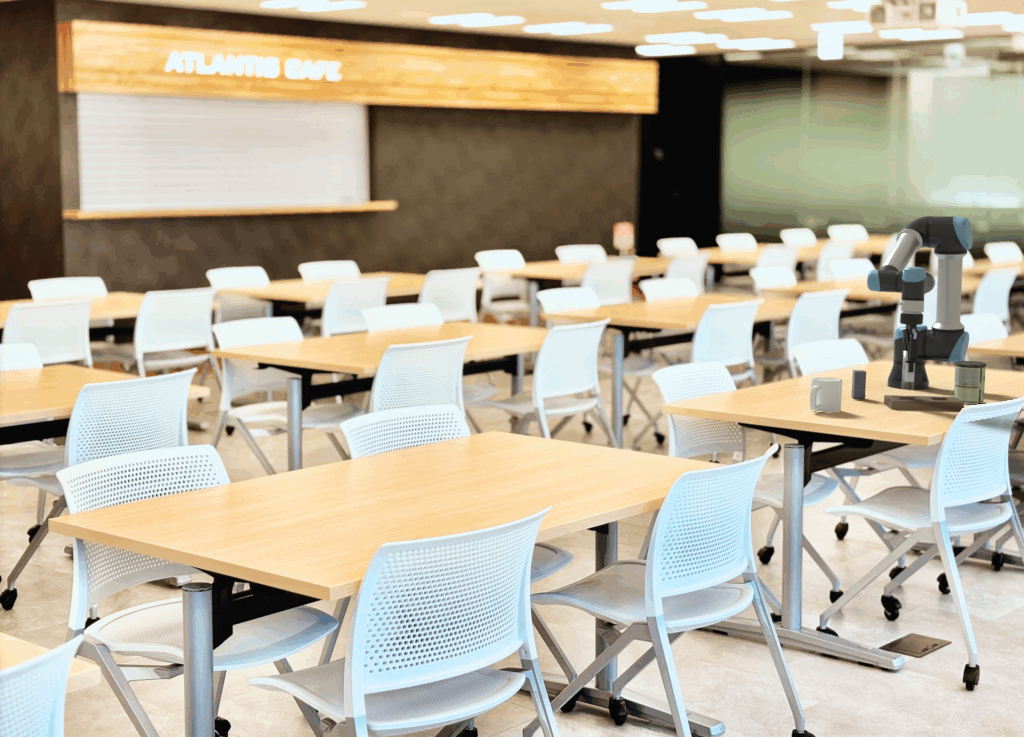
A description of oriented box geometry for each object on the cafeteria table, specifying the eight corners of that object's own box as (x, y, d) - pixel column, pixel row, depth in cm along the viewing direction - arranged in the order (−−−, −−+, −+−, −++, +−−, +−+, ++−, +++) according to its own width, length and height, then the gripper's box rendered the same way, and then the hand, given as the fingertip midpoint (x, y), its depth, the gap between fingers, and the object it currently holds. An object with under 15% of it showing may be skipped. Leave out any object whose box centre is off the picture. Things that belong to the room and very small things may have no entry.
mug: (827, 415, 435) (828, 383, 434) (799, 411, 442) (800, 380, 440) (846, 410, 445) (847, 379, 444) (818, 407, 452) (820, 376, 450)
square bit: (851, 397, 474) (852, 370, 472) (862, 398, 473) (864, 370, 472) (853, 399, 470) (854, 371, 468) (864, 399, 469) (866, 371, 468)
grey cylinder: (900, 387, 456) (902, 350, 454) (912, 388, 456) (914, 350, 454) (902, 389, 452) (904, 351, 450) (914, 389, 452) (916, 352, 450)
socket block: (883, 403, 461) (884, 395, 461) (954, 405, 459) (954, 396, 459) (891, 409, 449) (891, 400, 449) (963, 411, 448) (963, 402, 447)
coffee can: (950, 399, 472) (952, 360, 471) (979, 400, 472) (982, 361, 470) (956, 404, 462) (959, 364, 460) (987, 405, 461) (989, 365, 459)
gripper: (895, 310, 459) (891, 377, 462) (906, 314, 442) (902, 383, 445) (917, 310, 459) (913, 377, 461) (929, 315, 442) (925, 384, 445)
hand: (908, 380), depth 453 cm, fingers closed on grey cylinder, 4 cm apart
